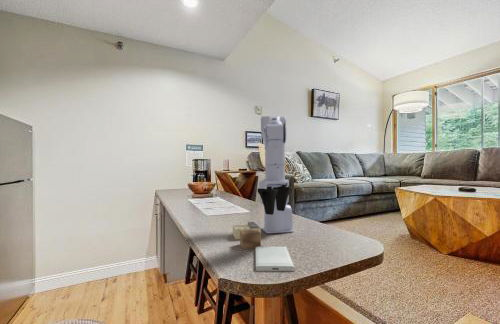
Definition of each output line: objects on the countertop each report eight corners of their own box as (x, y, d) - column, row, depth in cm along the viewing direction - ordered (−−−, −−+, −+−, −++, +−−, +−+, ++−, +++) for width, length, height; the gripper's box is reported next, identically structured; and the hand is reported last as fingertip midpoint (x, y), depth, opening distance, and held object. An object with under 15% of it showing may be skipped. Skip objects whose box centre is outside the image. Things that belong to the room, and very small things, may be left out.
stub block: (257, 243, 67) (256, 229, 67) (260, 247, 63) (260, 232, 63) (240, 244, 66) (240, 230, 66) (242, 249, 62) (242, 233, 62)
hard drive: (255, 246, 61) (255, 265, 48) (286, 246, 61) (294, 265, 48) (255, 252, 61) (255, 273, 48) (286, 252, 61) (295, 273, 48)
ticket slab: (256, 233, 77) (256, 221, 77) (261, 237, 72) (261, 225, 72) (232, 234, 75) (232, 223, 76) (235, 239, 70) (235, 227, 70)
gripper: (274, 165, 75) (275, 207, 75) (249, 165, 63) (249, 214, 63) (295, 165, 71) (295, 209, 71) (271, 164, 59) (272, 217, 59)
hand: (275, 212), depth 66 cm, fingers open, 6 cm apart
